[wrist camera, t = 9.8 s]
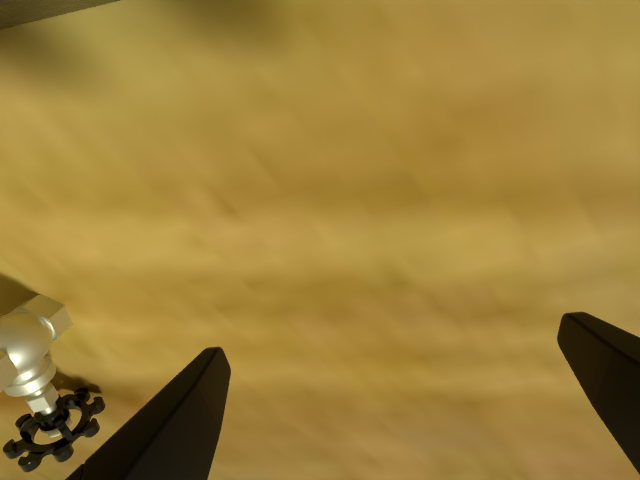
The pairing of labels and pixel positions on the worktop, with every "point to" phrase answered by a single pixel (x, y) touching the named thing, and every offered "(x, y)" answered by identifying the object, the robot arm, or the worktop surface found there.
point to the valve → (40, 382)
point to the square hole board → (40, 9)
